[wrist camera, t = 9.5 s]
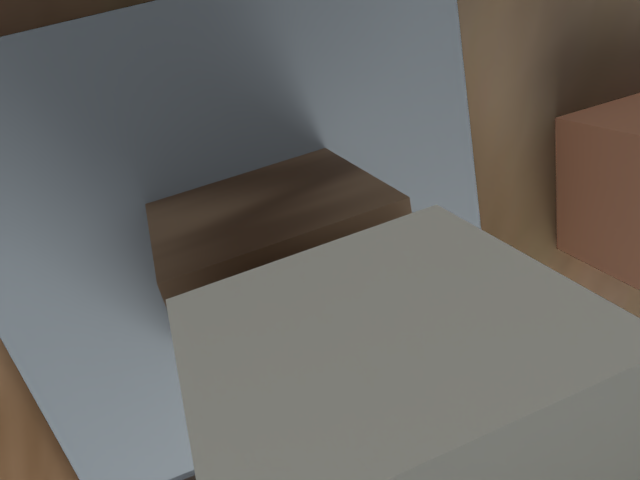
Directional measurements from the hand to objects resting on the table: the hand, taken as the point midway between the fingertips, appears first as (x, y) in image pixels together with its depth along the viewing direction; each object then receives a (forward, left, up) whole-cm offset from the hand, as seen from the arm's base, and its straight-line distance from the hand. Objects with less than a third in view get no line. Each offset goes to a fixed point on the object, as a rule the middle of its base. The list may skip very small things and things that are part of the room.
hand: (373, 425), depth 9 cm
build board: (0, 0, -9) cm, 9 cm away
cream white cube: (0, 0, -2) cm, 2 cm away
